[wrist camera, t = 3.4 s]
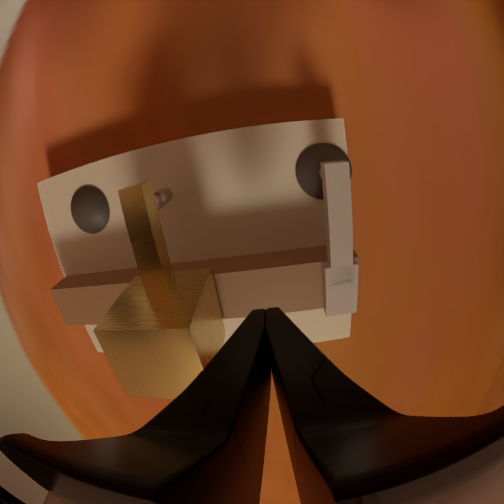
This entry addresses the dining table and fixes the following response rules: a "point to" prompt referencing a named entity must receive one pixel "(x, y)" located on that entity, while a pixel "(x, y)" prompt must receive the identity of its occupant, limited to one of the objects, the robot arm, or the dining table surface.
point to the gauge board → (219, 224)
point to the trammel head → (159, 309)
